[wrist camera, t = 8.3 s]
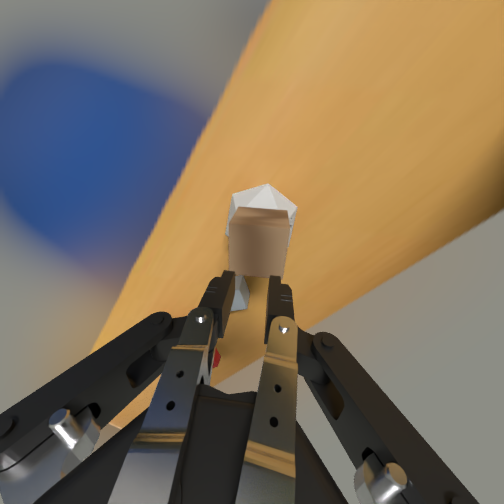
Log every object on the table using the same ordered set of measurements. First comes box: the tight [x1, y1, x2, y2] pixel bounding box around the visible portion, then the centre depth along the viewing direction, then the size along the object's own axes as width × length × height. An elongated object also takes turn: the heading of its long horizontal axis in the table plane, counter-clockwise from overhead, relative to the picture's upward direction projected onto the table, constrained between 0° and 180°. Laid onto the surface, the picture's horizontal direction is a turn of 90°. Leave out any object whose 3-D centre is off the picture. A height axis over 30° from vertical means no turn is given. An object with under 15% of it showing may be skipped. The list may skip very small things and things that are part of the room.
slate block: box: [231, 275, 250, 311], centre depth 34 cm, size 4×4×4 cm
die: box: [225, 184, 297, 247], centre depth 25 cm, size 8×9×10 cm
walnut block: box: [229, 207, 290, 279], centre depth 20 cm, size 5×5×5 cm
